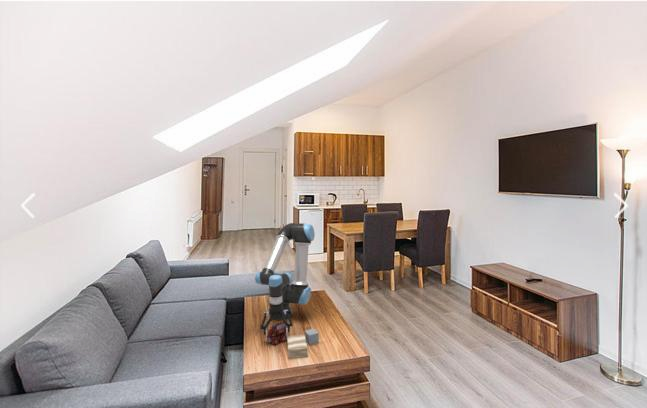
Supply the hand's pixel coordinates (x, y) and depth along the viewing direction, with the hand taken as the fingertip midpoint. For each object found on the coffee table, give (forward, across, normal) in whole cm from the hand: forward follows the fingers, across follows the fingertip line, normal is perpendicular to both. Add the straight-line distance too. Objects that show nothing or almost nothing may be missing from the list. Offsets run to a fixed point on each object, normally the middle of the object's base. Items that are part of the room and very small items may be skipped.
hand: (277, 338), depth 178 cm
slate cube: (+2, +20, -4) cm, 20 cm away
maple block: (+2, +11, -11) cm, 15 cm away
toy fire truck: (+2, 0, 0) cm, 2 cm away
